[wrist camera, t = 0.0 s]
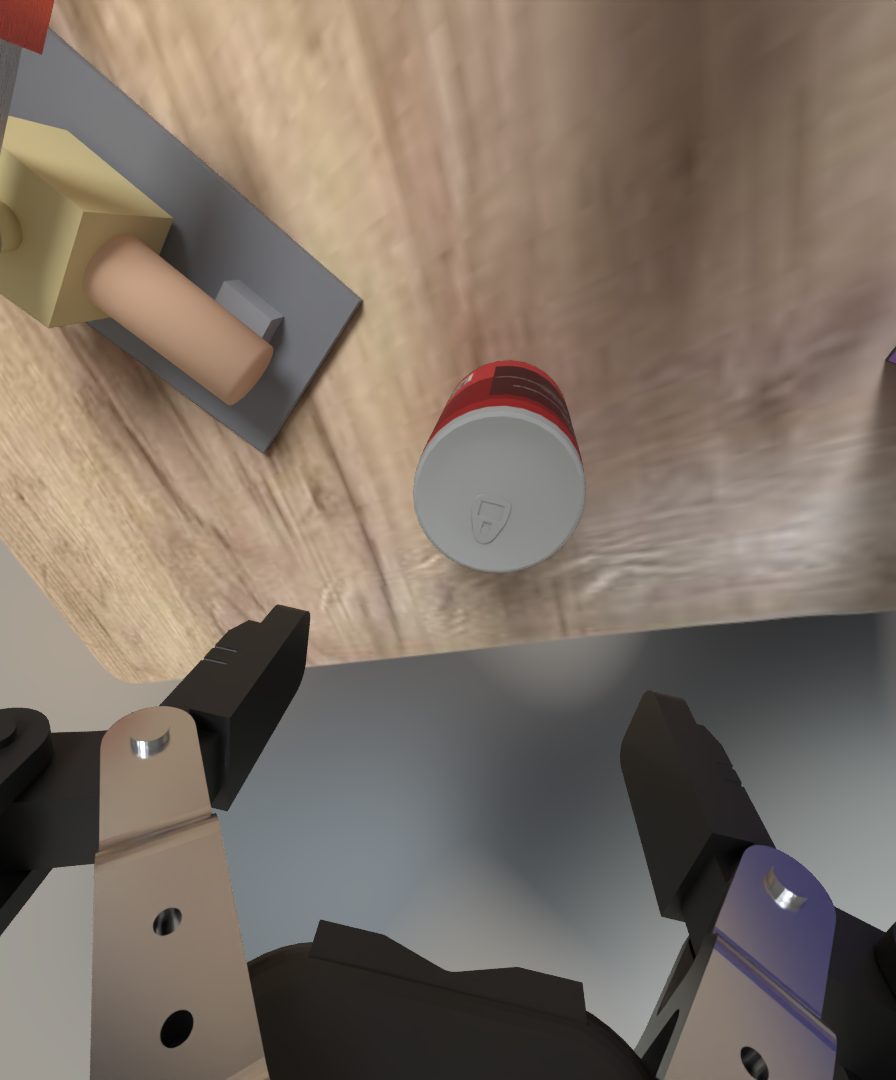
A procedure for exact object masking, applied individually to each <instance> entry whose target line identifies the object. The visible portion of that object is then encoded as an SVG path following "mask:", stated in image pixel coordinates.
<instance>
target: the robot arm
mask: <svg viewBox="0 0 896 1080" xmlns="http://www.w3.org/2000/svg"><path fill="white" fill-rule="evenodd" d="M309 626H310V613H309V611H304V610H300V609H296V608H291V607H287V606H283V605H276V606H275V607H274V608H273V609H272V610H271V612H270V613H269V614H268V615H267V616H266V617H265V619H264V620H263V621H262V622H261V623H259V622H255V621H251V620H248V621H246V622H244V623H242V624H240V625H239V626H237V627H235V628H233V629H231V630H229V631H228V632H227V633H226V634H225V635H224V636H223V637H222V638H221V639H220V641H219V642H218V643H217V644H216V645H215V648H212V649H211V650H210V651H209V652H208V654H207V655H206V656H205V657H204V660H201V661H200V662H199V663H198V664H197V665H196V667H195V668H194V669H193V670H192V671H191V672H190V673H189V674H188V675H187V676H186V677H185V678H184V680H183V681H182V682H181V683H180V684H179V685H178V686H177V687H176V688H175V689H174V690H173V692H172V693H171V694H170V695H169V696H168V697H167V698H166V699H165V700H164V701H163V702H162V704H160V705H159V706H156V707H150V708H145V709H141V710H138V711H135V712H132V713H130V714H128V715H126V716H124V717H123V718H121V719H120V720H118V721H117V722H116V723H114V724H113V725H112V726H111V727H110V728H109V729H108V730H106V731H91V732H59V733H51V730H50V724H49V720H48V719H47V717H46V716H45V715H44V714H42V713H41V712H39V711H37V710H33V709H28V708H6V709H0V936H1V934H2V933H3V932H4V930H5V929H6V928H7V926H8V925H9V924H10V923H11V921H12V920H13V919H14V918H15V916H16V915H17V914H18V912H19V911H20V910H21V908H22V907H23V906H24V905H25V903H26V902H27V901H28V899H29V898H30V897H31V896H32V894H33V893H34V892H35V890H36V889H37V888H38V886H39V885H40V884H41V883H42V881H43V880H44V879H45V877H46V876H47V875H48V873H49V872H50V871H51V870H52V868H56V867H65V866H76V865H86V864H95V865H94V909H93V954H92V1001H91V1003H92V1004H91V1049H90V1080H896V922H895V923H894V924H893V925H892V926H891V927H890V928H889V930H888V931H887V932H886V933H885V932H883V931H881V930H879V929H877V928H875V927H874V926H871V925H870V924H867V923H866V922H864V921H862V920H860V919H858V918H856V917H854V916H852V915H850V914H848V913H846V912H844V911H842V910H840V909H838V908H836V907H835V906H834V905H833V903H832V900H831V899H830V897H829V895H828V893H827V892H826V890H825V889H824V887H823V886H822V885H821V884H820V882H819V881H818V880H817V879H816V878H815V877H814V876H813V874H812V873H811V872H809V871H808V870H807V869H806V868H805V867H804V866H803V865H802V864H800V863H799V862H798V861H796V860H795V859H794V858H792V857H790V856H789V855H787V854H785V853H783V852H781V851H780V850H777V849H776V847H775V845H774V843H773V842H772V840H771V838H770V836H769V834H768V832H767V830H766V828H765V826H764V824H763V822H762V821H761V819H760V817H759V815H758V813H757V811H756V809H755V807H754V805H753V803H752V802H751V800H750V798H749V796H748V794H747V792H746V790H745V788H744V787H742V786H741V781H740V779H739V777H738V775H737V773H736V771H735V770H733V769H732V766H733V765H732V764H731V762H730V760H729V758H728V756H727V754H726V752H725V750H724V748H723V747H722V745H721V744H720V743H719V742H718V741H717V740H716V738H715V737H714V736H713V735H712V734H711V733H710V732H709V731H708V730H707V729H706V728H705V727H704V726H703V725H698V724H696V722H695V720H694V718H693V716H692V714H691V712H690V710H689V707H688V705H687V703H686V702H685V700H684V699H683V698H680V697H676V696H671V695H667V694H663V693H658V692H654V691H647V692H645V694H644V695H643V696H642V698H641V701H640V703H639V705H638V707H637V709H636V712H635V714H634V716H633V718H632V721H631V723H630V725H629V727H628V729H627V732H626V734H625V736H624V739H623V742H622V746H621V752H620V762H621V768H622V772H623V776H624V780H625V783H626V787H627V791H628V794H629V798H630V802H631V806H632V810H633V813H634V817H635V821H636V824H637V828H638V832H639V836H640V839H641V843H642V847H643V850H644V854H645V858H646V861H647V865H648V869H649V873H650V876H651V880H652V884H653V888H654V891H655V895H656V899H657V902H658V906H659V910H660V914H661V916H662V917H666V918H670V919H675V920H678V921H683V922H685V923H686V926H687V929H688V933H689V936H688V938H687V939H686V941H685V942H684V944H683V945H682V948H681V950H680V952H679V955H678V957H677V959H676V961H675V964H674V966H673V968H672V971H671V973H670V975H669V977H668V979H667V982H666V984H665V986H664V988H663V991H662V993H661V995H660V998H659V1000H658V1002H657V1004H656V1007H655V1009H654V1011H653V1013H652V1016H651V1018H650V1020H649V1023H648V1025H647V1027H646V1029H645V1031H644V1033H643V1035H642V1037H641V1039H640V1041H639V1042H638V1044H637V1046H636V1048H635V1049H634V1051H633V1049H632V1048H631V1047H630V1046H629V1045H628V1044H627V1043H626V1042H625V1041H624V1040H623V1039H622V1038H621V1037H620V1036H619V1035H617V1033H616V1032H614V1031H613V1030H612V1029H611V1028H610V1027H609V1026H607V1025H606V1024H605V1023H603V1022H602V1021H601V1020H600V1019H598V1018H597V1017H595V1016H594V1015H593V1014H591V1013H589V1012H587V1011H586V1008H585V1000H584V992H583V984H582V982H577V981H573V980H569V979H565V978H561V977H557V976H553V975H549V974H544V973H540V972H536V971H532V970H528V969H524V968H519V967H513V968H499V969H487V970H474V971H463V972H450V971H446V970H444V969H442V968H440V967H438V966H437V965H435V964H433V963H431V962H429V961H428V960H426V959H425V958H423V957H421V956H419V955H418V954H416V953H414V952H413V951H411V950H409V949H407V948H405V947H404V946H402V945H401V944H399V943H397V942H395V941H394V940H392V939H390V938H388V937H387V936H385V935H382V934H378V933H374V932H370V931H366V930H362V929H358V928H353V927H349V926H345V925H341V924H337V923H332V922H329V921H324V920H320V921H319V925H318V928H317V931H316V934H315V937H314V941H313V942H309V943H298V944H295V945H289V946H285V947H281V948H278V949H276V950H273V951H270V952H267V953H265V954H263V955H261V956H259V957H257V958H255V959H253V960H251V961H249V962H247V963H246V958H245V952H244V948H243V942H242V937H241V932H240V927H239V921H238V916H237V911H236V906H235V901H234V896H233V891H232V886H231V880H230V875H229V870H228V865H227V860H226V855H225V849H224V844H223V839H222V834H221V829H220V824H219V821H218V817H217V814H216V813H215V814H212V810H211V808H216V809H220V810H224V811H228V810H229V808H230V806H231V804H232V802H233V801H234V799H235V798H236V796H237V794H238V792H239V791H240V789H241V787H242V785H243V784H244V782H245V780H246V778H247V777H248V775H249V773H250V772H251V770H252V768H253V766H254V764H255V763H256V761H257V759H258V758H259V756H260V754H261V753H262V751H263V749H264V747H265V745H266V744H267V742H268V740H269V739H270V737H271V735H272V733H273V732H274V730H275V728H276V727H277V724H278V723H279V721H280V720H281V718H282V716H283V714H284V713H285V711H286V709H287V708H288V706H289V704H290V702H291V701H292V699H293V697H294V695H295V694H296V692H297V690H298V688H299V686H300V683H301V681H302V678H303V674H304V670H305V665H306V656H307V646H308V636H309Z"/></svg>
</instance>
